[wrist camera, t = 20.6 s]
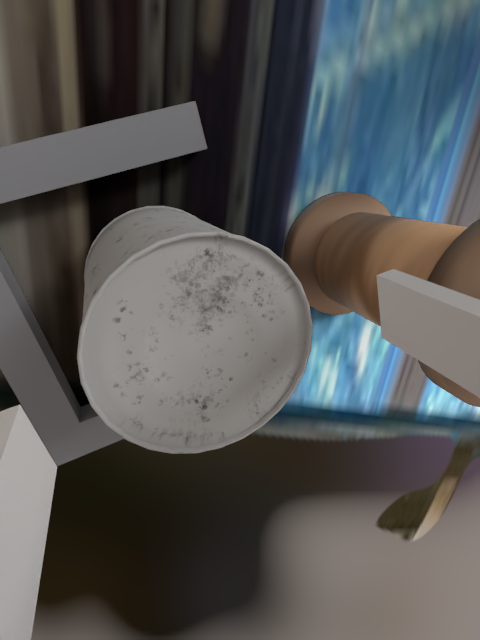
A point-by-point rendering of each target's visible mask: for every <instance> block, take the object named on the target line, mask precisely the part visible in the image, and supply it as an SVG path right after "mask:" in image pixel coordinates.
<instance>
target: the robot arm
mask: <svg viewBox="0 0 480 640" xmlns="http://www.w3.org/2000/svg"><path fill="white" fill-rule="evenodd" d="M376 276H377V287H378V299H379V310H380V322H381V333H382V338H384V339H385V340H387V341H388V342H390V343H392V344H393V345H395V346H396V347H398V348H400V349H401V350H403V351H405V352H406V353H408V354H409V355H411V356H413V357H414V358H416V359H418V360H419V361H421V362H422V363H424V364H426V365H427V366H429V367H430V368H432V369H434V370H435V371H437V372H439V373H440V374H442V375H443V376H445V377H447V378H448V379H450V380H452V381H453V382H455V383H456V384H458V385H460V386H461V387H463V388H464V389H466V390H468V391H469V392H471V393H473V394H474V395H476V396H477V397H479V398H480V300H479V299H476V298H474V297H471V296H468V295H465V294H462V293H460V292H457V291H454V290H451V289H448V288H446V287H443V286H440V285H437V284H434V283H432V282H429V281H426V280H423V279H420V278H418V277H415V276H412V275H409V274H406V273H404V272H401V271H398V270H395V269H392V270H389V271H387V272H384V273H381V274H378V275H376ZM56 471H57V466H56V464H55V463H54V461H53V459H52V457H51V456H50V454H49V453H48V451H47V449H46V447H45V446H44V444H43V442H42V441H41V439H40V437H39V436H38V434H37V432H36V431H35V429H34V427H33V426H32V424H31V422H30V420H29V419H28V417H27V415H26V414H25V412H24V410H23V409H22V407H21V405H17V406H14V407H11V408H9V409H6V410H3V411H0V640H31V635H32V629H33V622H34V615H35V609H36V602H37V596H38V589H39V583H40V582H39V581H40V576H41V570H42V562H43V557H44V550H45V543H46V537H47V530H48V524H49V517H50V511H51V504H52V497H53V491H54V484H55V478H56Z"/></svg>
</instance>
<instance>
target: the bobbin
mask: <svg viewBox="0 0 480 640" xmlns="http://www.w3.org/2000/svg"><path fill="white" fill-rule="evenodd" d="M283 261H284V262H286V263H287V264H288V266H289V267H290V269H291V270H292V271H293V273H294V274H295V276H296V277H297V278H298V280H299V281H300V282H301V285H302V287H303V290H304V292H305V295H306V297H307V300H308V302H309V305H310V306H311V307H313V308H314V309H316V310H318V311H320V312H323V313H326V314H333V315H339V314H346V313H350V312H355V313H357V314H359V315H361V316H362V317H364V318H366V319H368V320H370V321H372V322H374V323H375V324H377V325H379V326H381V322H380V310H379V299H378V287H377V276H376V275H378V274H381V273H384V272H387V271H389V270H392V269H395V270H398V271H401V272H404V273H406V274H409V275H412V276H415V277H418V278H420V279H423V280H426V281H429V282H432V283H434V284H437V285H440V286H443V287H446V288H448V289H451V290H454V291H457V292H460V293H462V294H465V295H468V296H471V297H474V298H476V299H479V300H480V219H479V220H477V221H476V222H474V223H473V224H472V225H471V226H469V227H462V226H455V225H448V224H442V223H435V222H428V221H421V220H415V219H408V218H401V217H395V216H392V215H391V214H390V212H389V211H388V209H387V208H386V207H385V206H384V205H383V204H382V203H381V202H380V201H378V200H377V199H375V198H374V197H371V196H369V195H366V194H362V193H349V192H336V193H331V194H328V195H325V196H323V197H320V198H319V199H317V200H315V201H314V202H312V203H311V204H310V205H308V206H307V207H306V208H305V209H304V210H303V211H302V212H301V213H300V215H299V216H298V217H297V219H296V220H295V222H294V223H293V225H292V227H291V229H290V231H289V233H288V236H287V239H286V243H285V247H284V254H283ZM418 362H419V364H420V366H421V368H422V370H423V372H424V373H425V374H426V376H427V377H428V378H429V379H430V380H431V381H432V382H433V383H435V384H436V385H438V386H439V387H441V388H442V389H444V390H446V391H447V392H449V393H451V394H452V395H454V396H455V397H457V398H459V399H460V400H462V401H463V402H465V403H467V404H470V405H472V406H477V407H480V398H479V397H477V396H476V395H474V394H473V393H471V392H469V391H468V390H466V389H464V388H463V387H461V386H460V385H458V384H456V383H455V382H453V381H452V380H450V379H448V378H447V377H445V376H443V375H442V374H440V373H439V372H437V371H435V370H434V369H432V368H430V367H429V366H427V365H426V364H424V363H422V362H421V361H419V360H418Z"/></svg>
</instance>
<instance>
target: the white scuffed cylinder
mask: <svg viewBox="0 0 480 640" xmlns="http://www.w3.org/2000/svg"><path fill="white" fill-rule="evenodd" d="M84 282H85V290H84V303H83V317H82V324H81V326H80V333H79V341H78V350H77V362H78V368H79V375H80V382H81V385H82V387H83V389H84V392H85V394H86V396H87V398H88V401H89V403H90V405H91V407H92V408H93V409H94V411H95V412H96V413H97V414H98V415H99V417H100V418H101V419H102V420H103V422H104V423H105V424H106V425H107V426H108V427H109V428H111V429H112V430H113V431H115V432H116V433H118V434H119V435H120V436H122V437H123V438H124V439H126V440H127V441H130V442H132V443H134V444H137V445H139V446H142V447H144V448H147V449H149V450H155V451H160V452H166V453H172V454H184V453H200V452H204V451H209V450H214V449H218V448H222V447H224V446H227V445H229V444H231V443H234V442H236V441H238V440H241V439H243V438H245V437H246V436H248V435H249V434H251V433H253V432H254V431H256V430H257V429H259V428H260V427H262V426H263V425H264V424H265V423H266V422H268V421H269V420H270V419H271V418H272V417H273V416H274V415H275V414H276V413H277V412H279V411H280V409H281V408H282V407H283V406H284V404H285V403H286V402H287V400H288V399H289V398H290V397H291V395H292V394H293V393H294V391H295V389H296V387H297V385H298V383H299V381H300V379H301V377H302V376H303V374H304V372H305V368H306V365H307V361H308V358H309V355H310V351H311V342H312V329H313V326H312V319H311V312H310V305H309V302H308V300H307V297H306V295H305V292H304V290H303V287H302V285H301V282H300V281H299V280H298V278H297V277H296V276H295V274H294V273H293V271H292V270H291V269H290V267H289V266H288V264H287V263H286V262H284V261H283V260H282V259H281V258H280V257H278V256H277V255H276V254H275V253H274V252H272V251H271V250H270V249H269V248H267V247H265V246H263V245H261V244H259V243H257V242H255V241H252V240H250V239H248V238H246V237H244V236H240V235H235V234H231V233H229V232H226V231H224V230H222V229H220V228H218V227H215V226H213V225H211V224H209V223H206V222H204V221H202V220H200V219H198V218H197V217H196V216H194V215H191V214H189V213H187V212H185V211H183V210H181V209H177V208H172V207H167V206H145V207H141V208H137V209H133V210H130V211H128V212H126V213H124V214H122V215H120V216H118V217H116V218H115V219H113V220H112V221H111V222H110V223H109V224H108V225H107V226H105V227H104V228H103V229H102V230H101V232H100V233H99V234H98V236H97V237H96V239H95V240H94V242H93V243H92V245H91V247H90V250H89V253H88V255H87V258H86V262H85V271H84Z"/></svg>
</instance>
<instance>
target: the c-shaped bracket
mask: <svg viewBox="0 0 480 640" xmlns="http://www.w3.org/2000/svg"><path fill="white" fill-rule="evenodd" d="M204 149H207V145H206V141H205V137H204V133H203V129H202V125H201V121H200V117H199V113H198V109H197V105H196V101H192V102H188V103H184V104H180V105H176V106H171V107H167V108H163V109H159V110H155V111H150V112H146V113H142V114H138V115H133V116H129V117H125V118H121V119H117V120H112V121H108V122H104V123H100V124H96V125H91V126H87V127H83V128H79V129H74V130H70V131H66V132H62V133H58V134H53V135H49V136H45V137H41V138H37V139H32V140H28V141H24V142H20V143H16V144H11V145H7V146H3V147H0V204H2V203H5V202H9V201H13V200H17V199H20V198H24V197H28V196H32V195H35V194H39V193H43V192H47V191H50V190H54V189H58V188H62V187H65V186H69V185H73V184H77V183H80V182H84V181H88V180H92V179H95V178H99V177H103V176H107V175H110V174H114V173H118V172H122V171H125V170H129V169H133V168H137V167H140V166H144V165H148V164H152V163H155V162H159V161H163V160H167V159H170V158H174V157H178V156H182V155H186V154H189V153H193V152H197V151H201V150H204ZM0 369H1V371H2V373H3V374H4V376H5V378H6V379H7V381H8V383H9V385H10V386H11V388H12V390H13V391H14V393H15V395H16V397H17V398H18V400H19V402H20V403H21V405H22V407H23V408H24V410H25V412H26V414H27V415H28V417H29V419H30V420H31V422H32V424H33V426H34V427H35V429H36V430H37V432H38V434H39V436H40V437H41V439H42V441H43V443H44V444H45V446H46V448H47V449H48V451H49V453H50V455H51V456H52V458H53V460H54V461H55V463H56V465H57V466H59V465H61V464H64V463H66V462H69V461H71V460H74V459H76V458H78V457H81V456H83V455H85V454H88V453H90V452H93V451H95V450H98V449H100V448H103V447H105V446H107V445H110V444H112V443H115V442H117V441H120V440H122V439H124V438H123V437H122V436H120V435H119V434H118V433H116V432H115V431H113V430H112V429H111V428H109V427H108V426H107V425H106V424H105V423H104V422H103V420H102V419H101V418H100V417H99V415H98V414H97V413H96V412H95V411H94V409H93V408H92V407H91V405H90V403H89V404H87V405H84V406H82V407H81V406H80V405H79V403H78V401H77V399H76V397H75V395H74V393H73V391H72V389H71V387H70V385H69V383H68V381H67V379H66V377H65V375H64V373H63V371H62V369H61V367H60V365H59V363H58V361H57V359H56V357H55V355H54V353H53V351H52V349H51V347H50V345H49V344H48V342H47V340H46V338H45V336H44V334H43V332H42V330H41V328H40V326H39V324H38V322H37V320H36V318H35V316H34V314H33V312H32V310H31V308H30V306H29V304H28V302H27V300H26V298H25V296H24V294H23V292H22V290H21V288H20V286H19V284H18V283H17V281H16V279H15V277H14V275H13V273H12V271H11V269H10V267H9V265H8V263H7V261H6V259H5V257H4V255H3V253H2V251H1V249H0Z"/></svg>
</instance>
